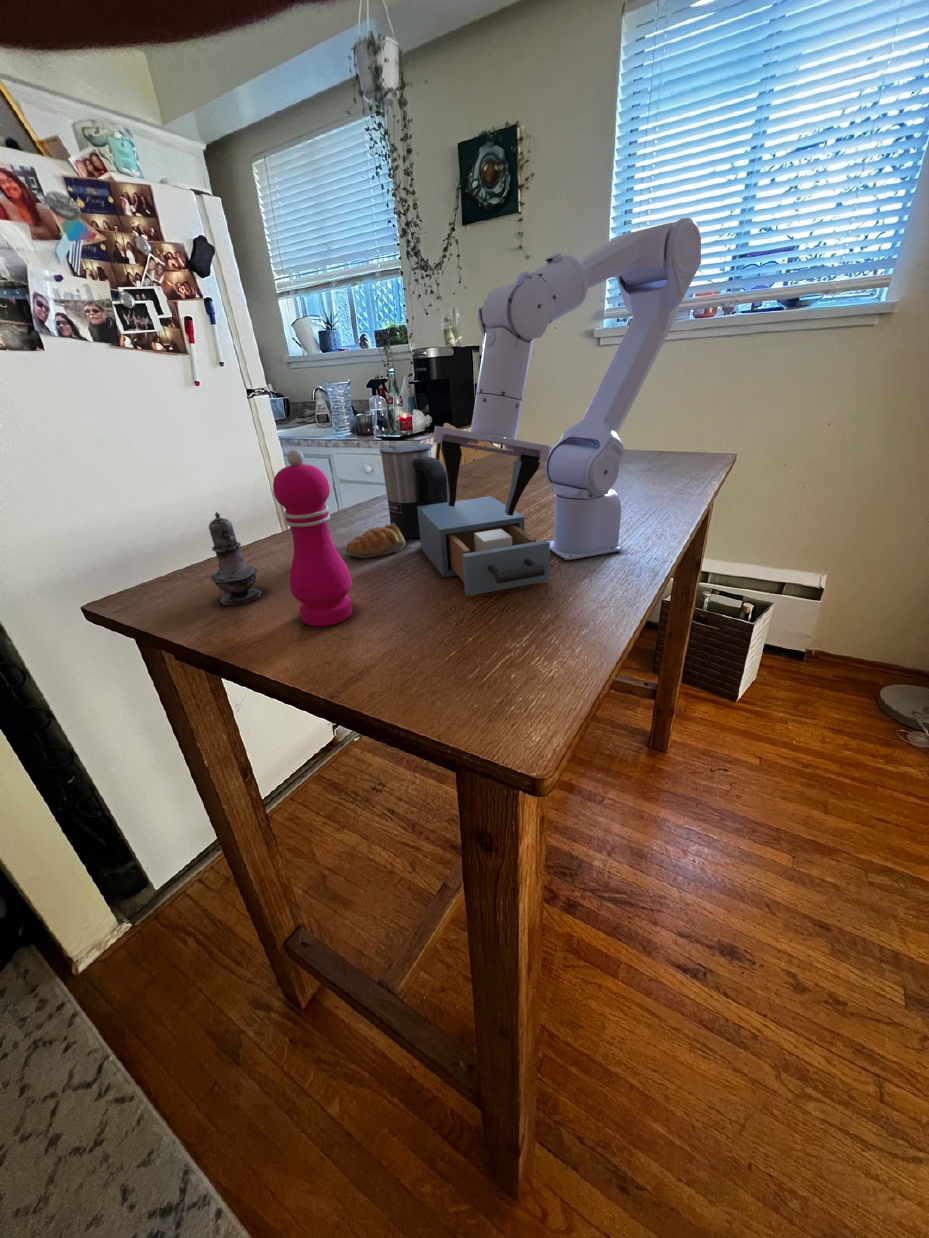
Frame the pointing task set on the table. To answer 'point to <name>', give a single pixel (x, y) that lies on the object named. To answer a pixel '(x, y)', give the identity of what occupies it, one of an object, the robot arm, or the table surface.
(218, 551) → the salt shaker
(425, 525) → the cabinet
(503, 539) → the block
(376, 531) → the pastry
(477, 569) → the drawer
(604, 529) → the robot arm
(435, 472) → the milk frother
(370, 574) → the table surface
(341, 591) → the pepper mill
